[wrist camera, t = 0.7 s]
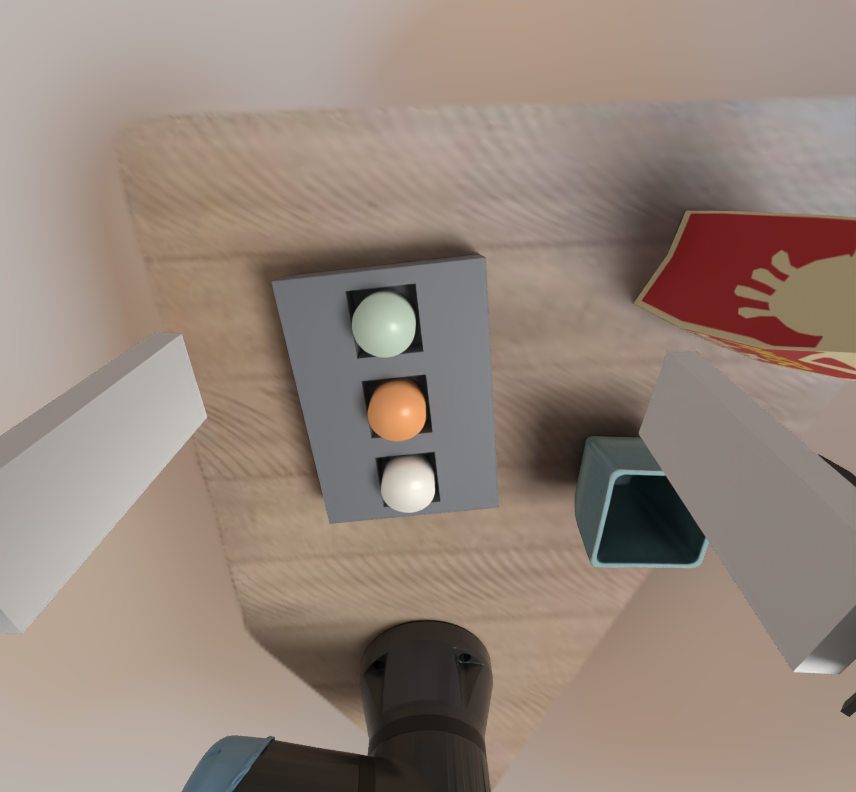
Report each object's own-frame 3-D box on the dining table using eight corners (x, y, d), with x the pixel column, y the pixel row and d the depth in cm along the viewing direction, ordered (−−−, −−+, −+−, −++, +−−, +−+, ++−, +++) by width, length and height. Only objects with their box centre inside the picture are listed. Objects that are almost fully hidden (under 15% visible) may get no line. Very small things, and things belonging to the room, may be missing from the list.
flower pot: (667, 418, 38) (736, 473, 30) (644, 499, 41) (700, 569, 33) (570, 415, 38) (612, 470, 29) (555, 497, 41) (589, 567, 33)
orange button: (428, 423, 35) (428, 438, 33) (375, 428, 35) (372, 444, 33) (422, 373, 33) (422, 385, 31) (367, 379, 33) (363, 391, 31)
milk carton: (724, 347, 35) (1054, 485, 17) (629, 308, 34) (876, 410, 16) (796, 240, 32) (1302, 263, 14) (695, 191, 31) (1105, 144, 12)
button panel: (492, 484, 40) (498, 507, 37) (336, 499, 41) (329, 523, 37) (479, 254, 32) (485, 257, 29) (286, 275, 33) (271, 281, 29)
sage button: (419, 344, 32) (418, 354, 30) (362, 350, 33) (357, 360, 30) (412, 286, 31) (411, 291, 28) (352, 292, 31) (346, 298, 28)
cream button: (436, 491, 38) (437, 510, 35) (387, 496, 38) (385, 515, 35) (431, 448, 36) (432, 464, 34) (380, 453, 36) (377, 470, 34)
